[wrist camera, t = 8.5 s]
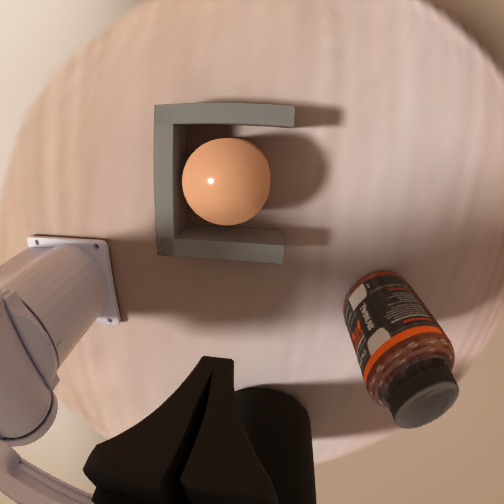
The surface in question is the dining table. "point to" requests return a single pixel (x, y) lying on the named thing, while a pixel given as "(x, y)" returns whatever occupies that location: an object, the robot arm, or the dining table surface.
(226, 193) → the tan rounded knob
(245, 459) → the robot arm
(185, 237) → the dock
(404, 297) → the supplement bottle
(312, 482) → the coffee jar
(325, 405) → the dining table surface
